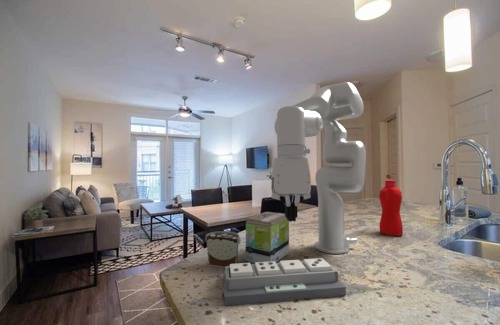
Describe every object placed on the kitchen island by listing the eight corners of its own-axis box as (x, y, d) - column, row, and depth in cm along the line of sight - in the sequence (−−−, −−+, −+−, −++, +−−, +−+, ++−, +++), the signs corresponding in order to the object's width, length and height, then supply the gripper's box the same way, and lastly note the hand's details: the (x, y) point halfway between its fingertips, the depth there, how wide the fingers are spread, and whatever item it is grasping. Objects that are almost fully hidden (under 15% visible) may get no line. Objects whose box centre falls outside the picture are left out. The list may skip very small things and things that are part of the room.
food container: (246, 262, 81) (246, 232, 81) (239, 269, 75) (239, 237, 75) (213, 257, 85) (213, 229, 85) (204, 264, 79) (204, 234, 79)
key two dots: (250, 270, 66) (250, 262, 66) (253, 279, 61) (252, 270, 61) (229, 271, 66) (229, 263, 66) (230, 281, 60) (230, 272, 60)
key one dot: (298, 267, 68) (298, 258, 68) (306, 276, 63) (305, 267, 63) (279, 268, 68) (279, 260, 68) (285, 277, 62) (285, 268, 62)
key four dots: (274, 268, 67) (274, 260, 67) (279, 277, 62) (279, 269, 62) (255, 270, 67) (255, 261, 67) (258, 279, 61) (258, 270, 61)
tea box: (271, 268, 76) (270, 221, 76) (244, 261, 81) (244, 217, 81) (289, 253, 88) (289, 213, 88) (265, 248, 94) (265, 210, 94)
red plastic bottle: (402, 231, 115) (402, 179, 115) (402, 237, 106) (401, 180, 106) (380, 229, 120) (380, 179, 120) (379, 234, 111) (378, 180, 111)
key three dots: (322, 265, 69) (322, 257, 69) (331, 274, 64) (331, 265, 64) (303, 266, 68) (303, 258, 69) (311, 275, 63) (311, 266, 63)
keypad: (321, 270, 74) (321, 255, 74) (345, 295, 60) (345, 276, 60) (223, 277, 70) (223, 261, 70) (224, 305, 56) (224, 285, 56)
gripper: (311, 153, 70) (312, 216, 70) (261, 153, 68) (261, 218, 68) (322, 152, 63) (323, 222, 62) (266, 151, 61) (266, 224, 60)
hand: (291, 220), depth 65 cm, fingers closed
